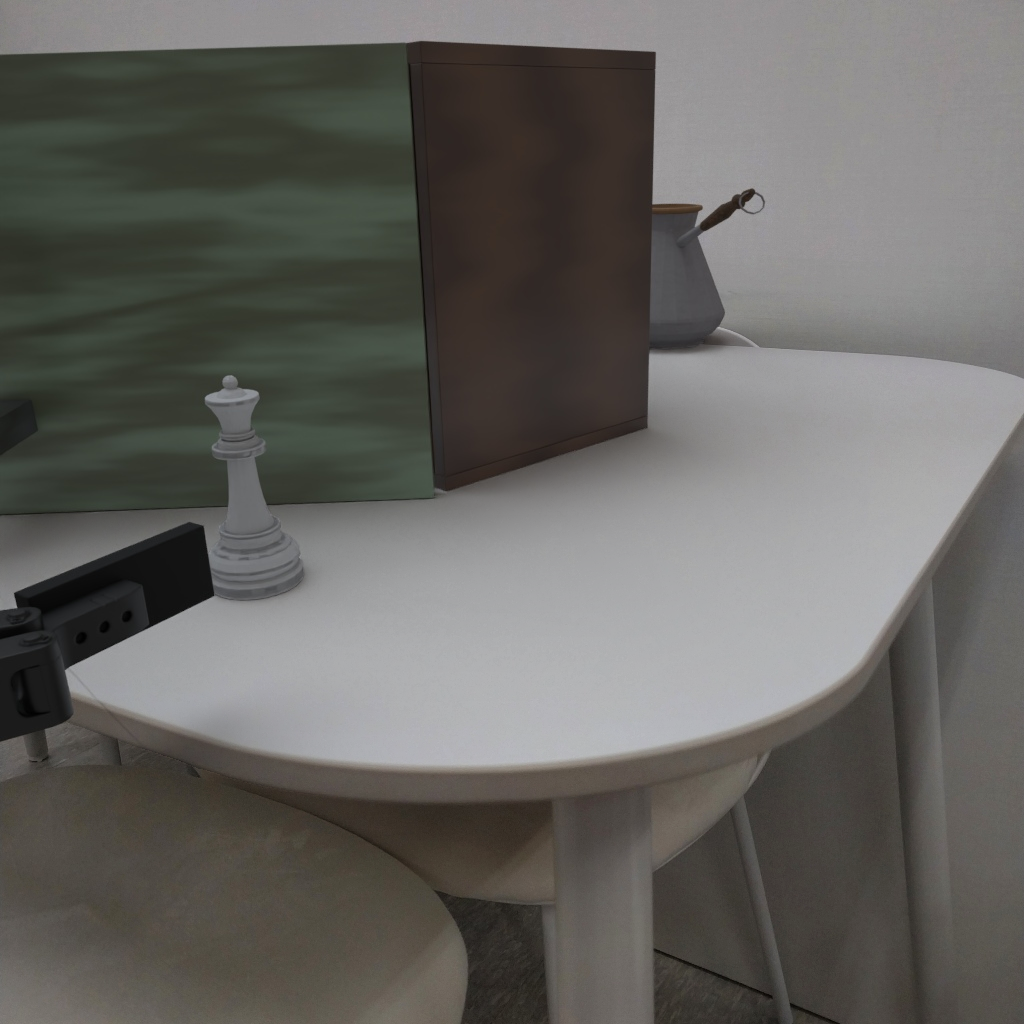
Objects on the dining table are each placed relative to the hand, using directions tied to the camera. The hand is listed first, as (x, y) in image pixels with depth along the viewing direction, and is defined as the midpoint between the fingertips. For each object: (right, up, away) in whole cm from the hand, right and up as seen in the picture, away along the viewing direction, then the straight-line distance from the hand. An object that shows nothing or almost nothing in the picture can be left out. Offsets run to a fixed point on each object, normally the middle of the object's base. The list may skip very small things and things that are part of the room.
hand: (86, 523), depth 38 cm
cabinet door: (-1, 0, +15) cm, 15 cm away
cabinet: (+11, +7, +34) cm, 36 cm away
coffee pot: (+33, +16, +54) cm, 65 cm away
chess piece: (+4, -3, +8) cm, 10 cm away
